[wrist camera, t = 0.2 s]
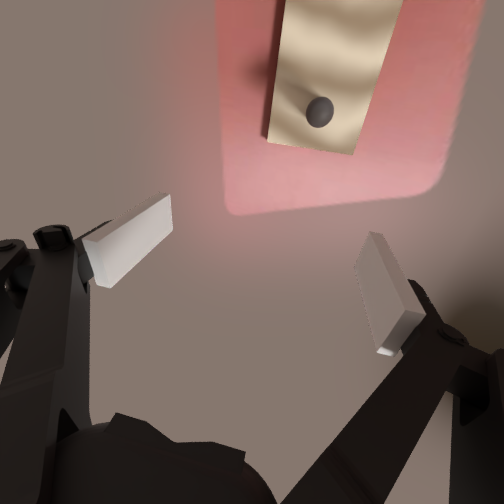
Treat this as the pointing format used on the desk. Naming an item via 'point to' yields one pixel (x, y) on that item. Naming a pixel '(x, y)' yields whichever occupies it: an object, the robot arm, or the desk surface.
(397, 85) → the desk surface
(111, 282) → the robot arm
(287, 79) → the board
